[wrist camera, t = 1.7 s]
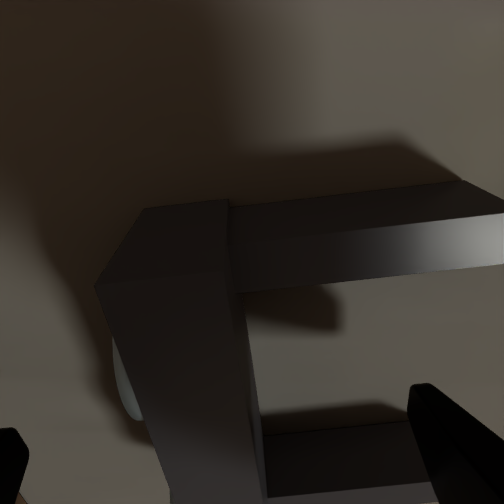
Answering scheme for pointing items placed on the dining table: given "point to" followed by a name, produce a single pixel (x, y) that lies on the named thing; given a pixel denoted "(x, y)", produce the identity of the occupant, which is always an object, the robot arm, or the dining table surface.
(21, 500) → the display stand
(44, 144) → the dining table surface
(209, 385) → the grey c-shaped bracket
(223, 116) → the dining table surface
